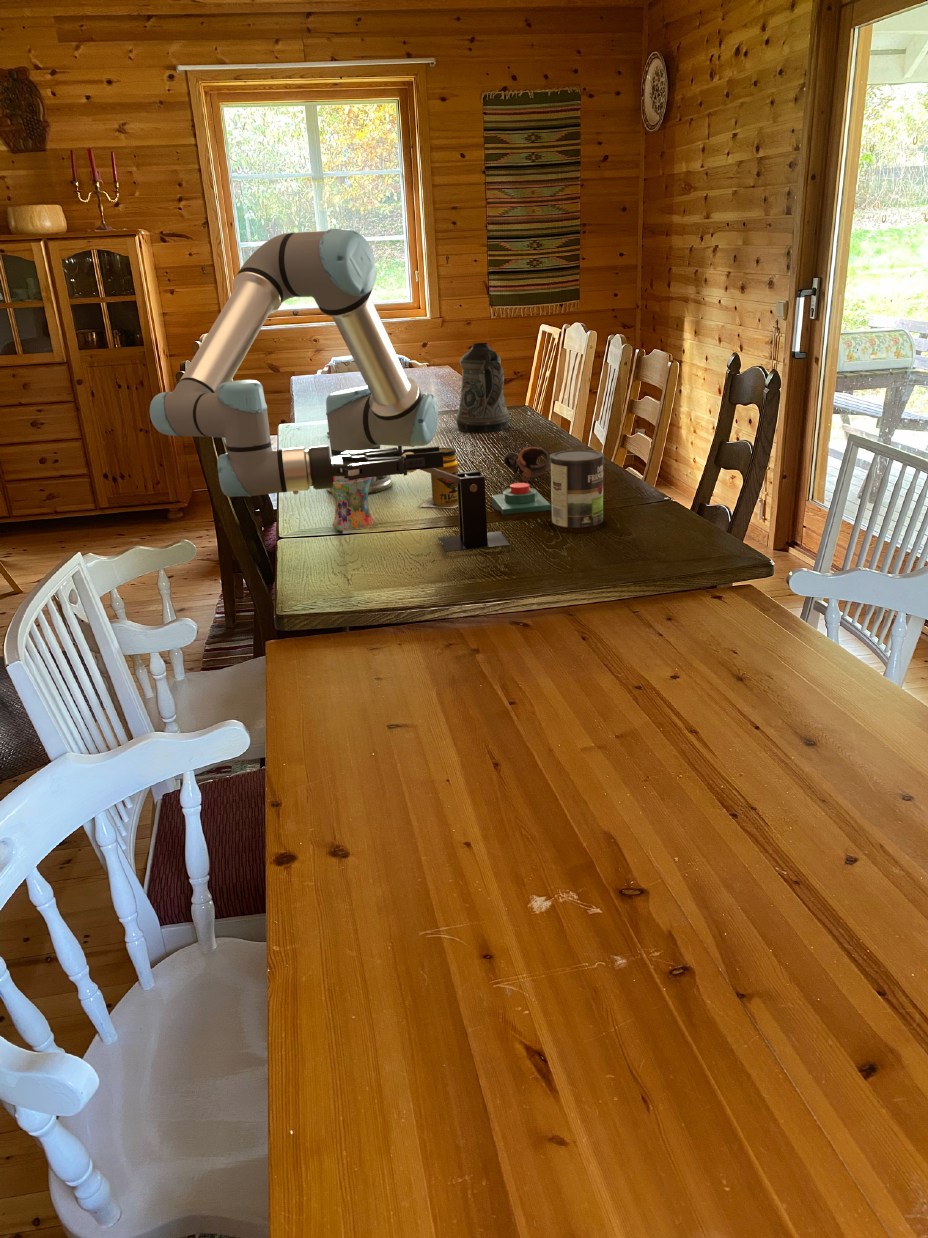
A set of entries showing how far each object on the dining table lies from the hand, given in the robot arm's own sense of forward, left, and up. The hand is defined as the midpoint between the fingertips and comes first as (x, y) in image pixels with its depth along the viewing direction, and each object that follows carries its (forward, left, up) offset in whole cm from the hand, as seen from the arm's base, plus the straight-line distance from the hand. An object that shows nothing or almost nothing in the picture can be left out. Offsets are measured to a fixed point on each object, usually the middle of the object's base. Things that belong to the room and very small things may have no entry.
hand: (440, 456), depth 164 cm
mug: (-22, -16, -18) cm, 32 cm away
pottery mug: (-49, +27, -18) cm, 59 cm away
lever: (0, -1, -5) cm, 5 cm away
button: (-22, +19, -14) cm, 32 cm away
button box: (-22, +19, -18) cm, 34 cm away
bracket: (0, +5, -18) cm, 18 cm away
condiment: (-33, +4, -18) cm, 38 cm away
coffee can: (-7, +27, -18) cm, 33 cm away
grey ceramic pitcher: (-116, +30, -18) cm, 121 cm away
